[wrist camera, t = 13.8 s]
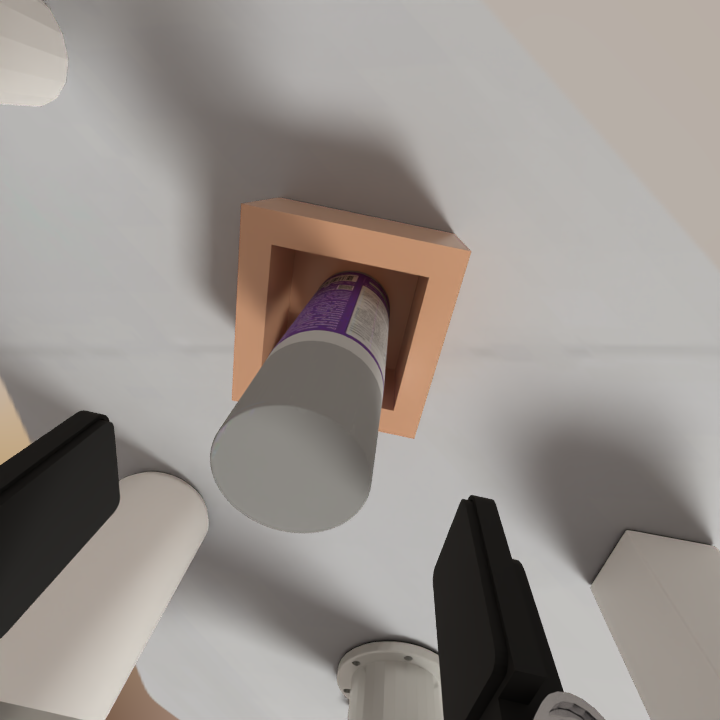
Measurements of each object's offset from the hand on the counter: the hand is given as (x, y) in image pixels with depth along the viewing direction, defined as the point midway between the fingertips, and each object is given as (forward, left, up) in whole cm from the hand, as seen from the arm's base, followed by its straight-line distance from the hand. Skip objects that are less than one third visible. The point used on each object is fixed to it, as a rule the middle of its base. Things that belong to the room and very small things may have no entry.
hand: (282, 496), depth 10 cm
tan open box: (+1, 0, -16) cm, 16 cm away
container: (0, 0, -16) cm, 16 cm away
